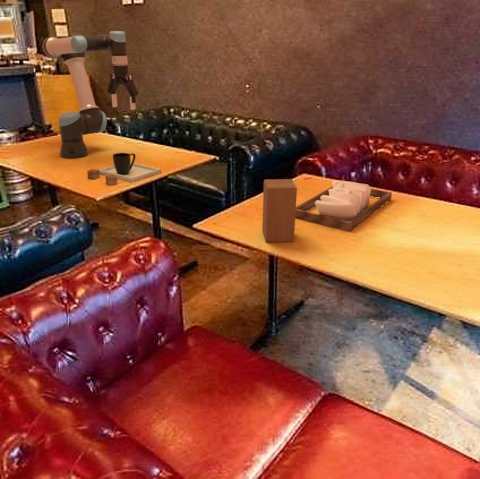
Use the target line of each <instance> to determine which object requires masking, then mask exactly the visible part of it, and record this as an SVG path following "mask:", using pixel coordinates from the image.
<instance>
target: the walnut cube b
mask: <svg viewBox="0 0 480 479" xmlns="http://www.w3.org/2000/svg"><path fill="white" fill-rule="evenodd" d="M104 176H105V184H106V185H108V187H109V186H110V185H111V186H117V185H118V179H117V176H115V175H114V174H111V175H104Z"/></svg>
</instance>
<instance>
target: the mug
mask: <svg viewBox="0 0 480 479" xmlns="http://www.w3.org/2000/svg"><path fill="white" fill-rule="evenodd" d="M131 156H132V160H131ZM112 161H113V166H115V169H116V171H117V174H119V175H127V174H129V171H130V170H131V168H132V166H133V163H135V161H136V154H135V153H132V152H131V153H129V152H118V153H113V155H112ZM130 162H132V163H131V165H130Z"/></svg>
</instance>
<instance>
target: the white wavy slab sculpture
mask: <svg viewBox="0 0 480 479" xmlns="http://www.w3.org/2000/svg"><path fill="white" fill-rule="evenodd" d="M332 186H333V189H329V188H328V189H329V196H327V195H322V196H321V197H320V198H321V201H319V200H317V201H316V202H315V205H316V206H315V208H316V209H317V211H318V214H320V215H324V216H328V217H332V218H336V219H341V220H345V221H351V220H352V219H353V218H355V217H356V216H357V215H359V214H360V213H361V212H363V211H364V210H366V209H367V208H368V207H369V206H370V205H369V204H370V198H371V197H370V192H371V187H370V185H369V184H367V183H359V182H355V181H348V180H347V181H346V180H335V179H333V180H332Z"/></svg>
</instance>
